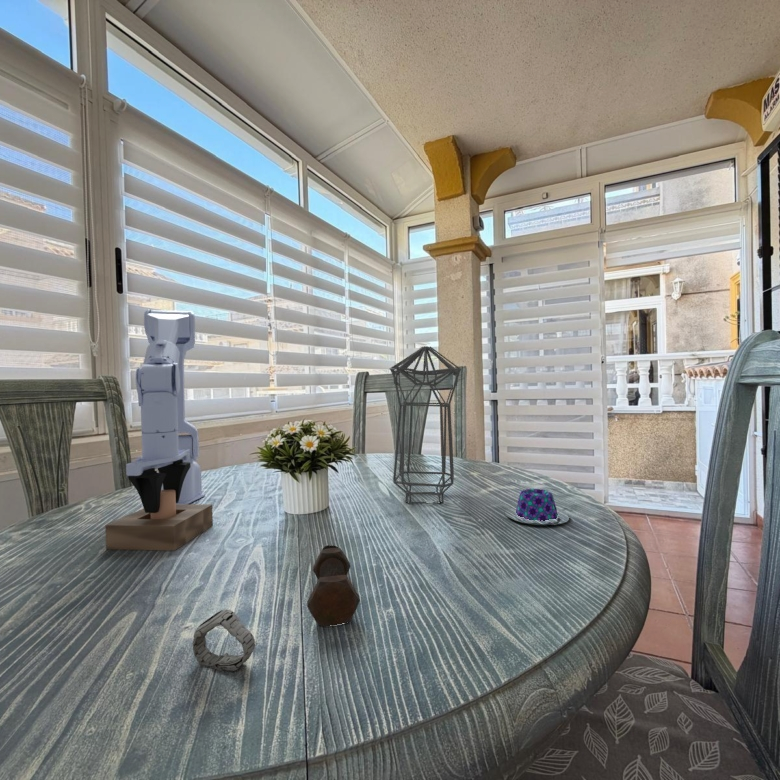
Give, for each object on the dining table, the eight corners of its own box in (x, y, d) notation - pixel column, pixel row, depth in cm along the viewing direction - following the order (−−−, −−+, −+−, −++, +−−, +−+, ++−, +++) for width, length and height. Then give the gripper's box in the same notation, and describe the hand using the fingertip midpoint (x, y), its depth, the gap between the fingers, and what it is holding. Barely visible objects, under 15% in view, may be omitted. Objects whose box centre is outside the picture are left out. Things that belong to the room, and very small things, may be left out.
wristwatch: (209, 649, 42) (207, 600, 42) (262, 659, 40) (260, 608, 40) (182, 672, 39) (181, 619, 39) (239, 684, 37) (237, 629, 37)
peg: (170, 531, 77) (168, 488, 77) (181, 535, 75) (179, 491, 75) (147, 538, 74) (145, 493, 74) (157, 542, 71) (156, 496, 71)
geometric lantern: (395, 489, 104) (396, 349, 104) (459, 491, 102) (459, 349, 102) (386, 507, 88) (386, 342, 88) (461, 510, 86) (461, 342, 86)
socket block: (154, 524, 81) (153, 504, 81) (212, 525, 80) (212, 504, 79) (106, 549, 69) (105, 525, 69) (174, 550, 68) (173, 526, 68)
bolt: (336, 579, 60) (341, 638, 46) (305, 565, 60) (300, 620, 45) (355, 543, 61) (366, 589, 46) (325, 528, 60) (326, 570, 46)
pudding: (577, 531, 73) (577, 501, 73) (507, 528, 75) (507, 499, 75) (562, 510, 85) (561, 485, 85) (501, 508, 87) (501, 483, 87)
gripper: (165, 427, 82) (167, 496, 82) (107, 436, 67) (110, 520, 67) (199, 426, 81) (201, 496, 81) (148, 436, 66) (151, 521, 67)
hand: (162, 507), depth 74 cm, fingers open, 5 cm apart
